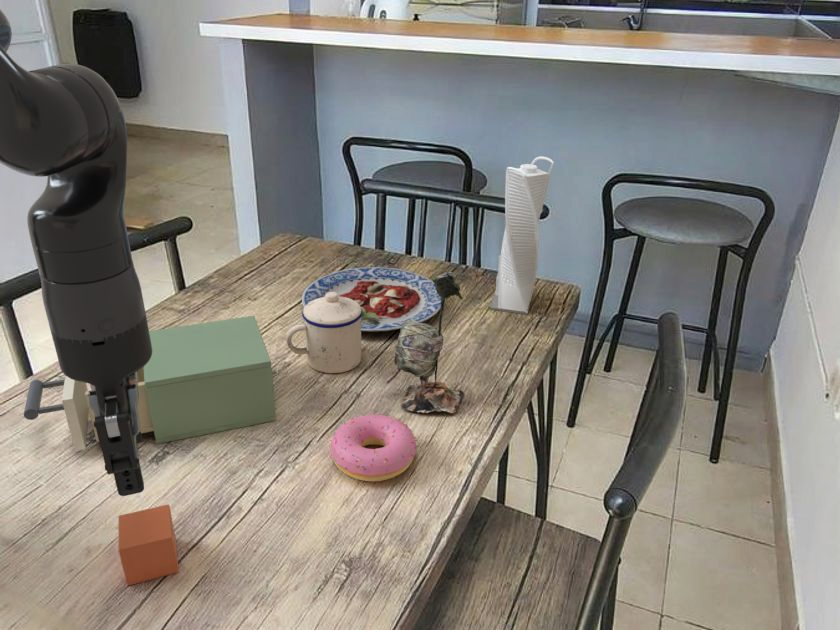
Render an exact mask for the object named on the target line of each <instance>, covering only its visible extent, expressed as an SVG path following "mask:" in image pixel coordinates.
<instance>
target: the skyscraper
mask: <svg viewBox="0 0 840 630" xmlns="http://www.w3.org/2000/svg"><path fill="white" fill-rule="evenodd" d="M540 160H542V161H543V160H544V161H548V162H549V163H551V164H550V166H549V169H548V171H544V170H541V169H539V168H538V166H537V165H535V163H536V162H538V161H540ZM554 163H555V162H554V160H552V159H551V158H549V157H547V156H541V155H540V156H537V157H535V158H534V159H533V160H532V161H531V163H523V164H520V166H519V167H514V166H507V167H506V168H505V186H504V187H505V188H504V189H505V191H504V212H505V213H504V215H505V217H504V218H505V228H504V232H503V238H502V242H501V252H500V254H499V255H498V270H497V275H496V277H495V280H496V281H495V282H496V283H495V284H496V287H495V291H494V295H493V297H492V300H491V302H490V305H489V310H491V311H498V312H506V313H513V314H522V315H528V314H529V310H530V306H531V303H532V298H533V294H534V290H535V289H534V288H535V284H536V278H537V272H538V267H539V256H540V234H539V233H540V232H539V225H538V224H539V221H540V219H541V214H542V212H543V207H544V205H545V204H544V203H545V199H546V196H547V191H548V186H549V182H550V177H551V176H550V175H551V172H552V169H553V167H554Z"/></svg>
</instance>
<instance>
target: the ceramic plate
mask: <svg viewBox="0 0 840 630" xmlns="http://www.w3.org/2000/svg"><path fill="white" fill-rule="evenodd" d="M328 292H336V293H337V294H338V296H340V297H346V298H349V299H352V300H354V301H356V302H357V303H358V304H359V305H360V307H361V309H362V316H361V332H388V331H395V330H399V329H400V330H401V327H402V325H403V323H404V321H406V320H415V321H418V322H420V323H424V322H425V321H427V320H429V319H431V318H432V317H433V316H435V315H436V314H437V313H438V312H440V310H441V304H440V303H441V298H442V297H440V296H439V295H438V293H437V290H436V287H435V284H434V280H431V279H430V278H427V277H426V276H423V275H422V274H419V273H415V272H412V271H409V270H404V269H400V268H391V267H382V266H381V267H380V266H372V267H368V266H367V267H355V268H348V269H343V270H337V271H335V272H332V273H329V274H326V275H324V276H321V277H319V278H317V279H316V280H314V281H313V282H311V283H310V284H309V285H308V286H307V287H306V288H305V289H304V291H303V292H302V295H301V304H302V307H303V309H304V308H305V306H306V305H307V304H308V303H309V302H311V301H313V300H315V299H318V298H322V297H325V295H326V294H327V293H328ZM406 315H408V316H407V317H406Z"/></svg>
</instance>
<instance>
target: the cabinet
mask: <svg viewBox="0 0 840 630" xmlns="http://www.w3.org/2000/svg"><path fill="white" fill-rule="evenodd" d="M149 334H150V340H151V345H152V356H151V358H150V360H149V361H148V363H147V364H146V365H145V366H144V383H145V388H146V393H147V399H148V404H149V409H150V414H151V419H152V424H153V429H154V431H153V433H154V439H155V444H156V445H159V444H164V443H168V442H174V441H179V440H185V439H189V438H190V439H191V438H194V437H199V436H204V435H209V434H214V433H215V434H216V433H220V432H225V431H230V430H234V429H239V428H244V427H249V426H254V425H259V424H265V423H270V422H274V421H277V416H276V415H277V413H276V404H275V402H276V401H275V392H274V381H273V372H272V371H273V369H272V360H271V357H270V355H269V353H268V350H267V347H266V344H265V341H264V338H263V336H262V333H261V330H260V328H259V325H258V322H257V320H256V317H255V315H249V316H242V317H235V318H230V319H229V318H228V319H222V320H214V321H208V322H201V323H195V324H188V325H182V326H181V325H180V326H174V327H168V328H167V327H166V328H160V329H153V330H149Z"/></svg>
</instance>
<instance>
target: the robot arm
mask: <svg viewBox="0 0 840 630" xmlns="http://www.w3.org/2000/svg"><path fill="white" fill-rule="evenodd" d="M12 35H13V32H12V26H11V23H10V21H9V20H8V18H7V16H6V15H5V13H4V12H3V11H2V9H0V164H1V165H2V166H5V167H7V168H9V169H11V170H12V171H15V172H17V173H20V174H23V175H26V176H31V177H36V178H37V177H38V178H40V177H41V178H42V177H43V178H44V177H47V180H46V181H47V182H46V186H45V188H44V190H43V192H42V193H41V194H40V196H39V197H38V198H37V200H35V201H34V203H32V205H31V206H30V208H29V209H28V212H27V216H26V218H27V219H26V221H27V228H28V233H29V238H30V243H31V246H32V249H33V250H32V251H33V255H34V259H35V263H36V266H37V271H38V273H39V278H40V284H41V296H42V297H41V298H42V302H43V306H44V310H45V314H46V318H47V322H48V325H49V329H50V334H51V337H52V341H53V345H54V349H55V353H56V357H57V360H58V365H59V368H60V370H61V372H62V374H63V375H64V376H65V375H66V376H67V377H68V378H70V379H73V380H75V381H79V382H85V383H86V384H89V386H90V389H91V390H88V397H89V404H90V408H91V409H92V410H93V411H94V415H95V421H94V427H96V431H97V435H98V439H99V442H98V443H99V446H100V449H101V453H102V458H103V461H104V471H106V474H107V475H112V474H113V476H114V482H115V485H116V490H117V494H118V495H119V496H120V497H126V496H131V495H136V494H140V493H143V491H144V490H145V482H144V477H143V473H142V468H141V462H140V457H141V453H140V451H139V448H138V445H139V444H141V443H142V441H143V433H141V428H140V421H139V415H138V409H137V405H138V400H139V391H138V378H137V371H138V370H140V369H141V368H143V367H144V366H145V365H146V364H147V363H148V361H149V360H150V358H151V356H152V345H151V340H150V334H149V331H150V329H149V325H148V318H147V313H146V309H145V303H144V297H143V291H142V285H141V282H140V280H139V277H138V273H137V271H136V268H135V265H134V264H135V263H134V260H133V257H132V250H131V246H130V241H129V235H128V230H127V229H128V227H127V224H126V220H125V215H124V205H125V204H124V203H125V196H126V189H127V164H128V163H127V162H128V133H127V131H128V130H127V126H126V125H127V124H126V120H125V115H124V112H123V109H122V106H121V104H120V101H119V99H118V97H117V95H116V93H115V91H114V89H113V88H112V87H111V85H110V84H109V83H108V82H107V81H106V79H104V77H103V76H101V75H100V74H99V73H98V72H96V71H94V70H93V69H91V68H89V67H87V66H84V65H81V64H77V63H61V64H55V65H51V66H50V65H49V66H45V67H41V68H36V69H33V70H29V71H28V70H27V69H25V68H23V67H21V66H20V65H19V64H18V63H17V62H16V61H15V60H14V59H13V58H12V57H11V56H10V55H9V54H8V50H9V48H10V46H11V42H12Z"/></svg>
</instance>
